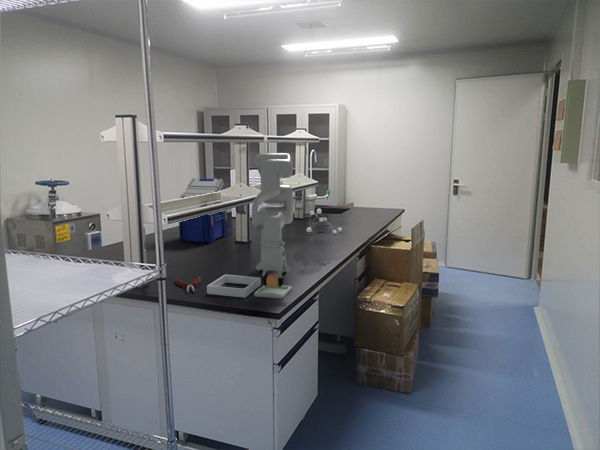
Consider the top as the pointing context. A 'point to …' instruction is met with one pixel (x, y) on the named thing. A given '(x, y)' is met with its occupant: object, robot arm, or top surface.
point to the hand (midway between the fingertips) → (273, 285)
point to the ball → (272, 280)
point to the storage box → (206, 225)
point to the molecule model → (321, 221)
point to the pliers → (186, 285)
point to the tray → (273, 292)
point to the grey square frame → (236, 292)
